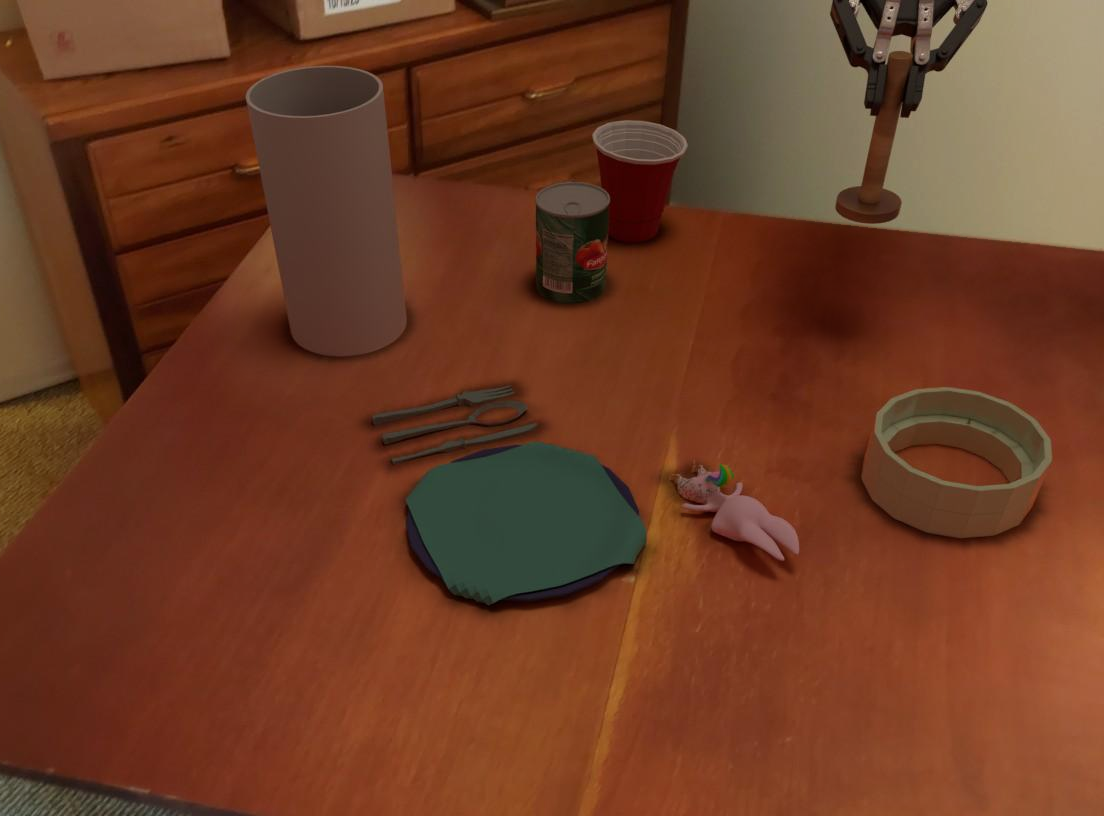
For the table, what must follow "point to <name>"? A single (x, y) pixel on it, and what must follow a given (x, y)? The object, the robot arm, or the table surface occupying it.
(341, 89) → the cylinder vase
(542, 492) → the cutlery set
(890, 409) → the ring
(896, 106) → the wooden peg on disc
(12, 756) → the table surface
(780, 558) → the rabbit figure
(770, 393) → the table surface
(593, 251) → the canned tomato
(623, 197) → the plastic cup
